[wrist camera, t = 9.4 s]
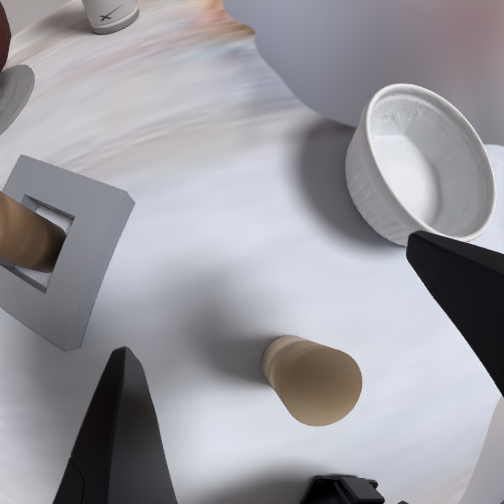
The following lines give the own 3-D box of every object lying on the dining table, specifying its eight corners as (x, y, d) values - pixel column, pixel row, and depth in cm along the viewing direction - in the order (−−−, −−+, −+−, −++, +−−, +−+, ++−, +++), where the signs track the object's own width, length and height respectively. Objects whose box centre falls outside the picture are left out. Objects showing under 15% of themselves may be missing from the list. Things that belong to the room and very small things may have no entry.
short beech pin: (304, 394, 20) (344, 432, 13) (253, 379, 20) (271, 416, 13) (322, 344, 21) (372, 360, 14) (272, 328, 21) (301, 338, 13)
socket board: (80, 347, 19) (64, 351, 17) (-14, 285, 19) (-31, 281, 17) (135, 203, 22) (126, 191, 19) (34, 165, 22) (20, 154, 19)
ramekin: (446, 275, 24) (499, 263, 17) (318, 234, 23) (355, 204, 16) (448, 155, 26) (487, 126, 19) (340, 106, 26) (367, 59, 19)
